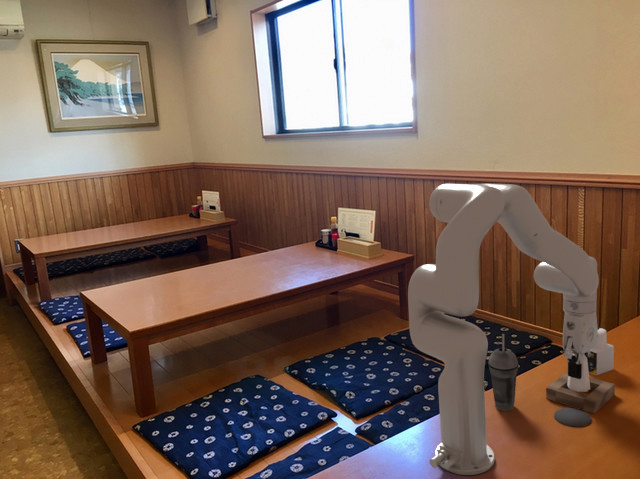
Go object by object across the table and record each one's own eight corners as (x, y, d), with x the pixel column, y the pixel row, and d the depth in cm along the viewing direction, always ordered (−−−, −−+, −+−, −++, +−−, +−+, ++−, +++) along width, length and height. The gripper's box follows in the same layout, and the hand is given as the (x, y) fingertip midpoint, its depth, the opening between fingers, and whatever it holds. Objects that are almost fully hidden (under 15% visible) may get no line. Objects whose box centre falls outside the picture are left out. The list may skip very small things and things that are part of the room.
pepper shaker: (576, 393, 137) (576, 352, 134) (562, 384, 142) (562, 344, 140) (595, 390, 137) (595, 349, 135) (581, 381, 143) (581, 341, 141)
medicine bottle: (574, 367, 157) (574, 327, 154) (592, 360, 160) (592, 322, 157) (596, 376, 150) (596, 335, 148) (614, 369, 153) (614, 329, 151)
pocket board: (594, 413, 132) (594, 402, 132) (546, 398, 141) (546, 387, 141) (614, 394, 140) (614, 383, 139) (567, 381, 149) (567, 371, 148)
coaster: (581, 430, 126) (582, 429, 126) (548, 419, 132) (548, 417, 132) (596, 416, 131) (596, 415, 131) (563, 406, 137) (563, 404, 137)
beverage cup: (515, 398, 142) (513, 326, 139) (523, 413, 135) (521, 337, 131) (487, 400, 143) (484, 328, 139) (492, 414, 136) (490, 338, 132)
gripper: (579, 317, 127) (579, 390, 131) (609, 299, 138) (607, 367, 141) (548, 311, 133) (548, 381, 136) (579, 294, 144) (578, 360, 147)
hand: (578, 373), depth 139 cm, fingers closed on pepper shaker, 3 cm apart
